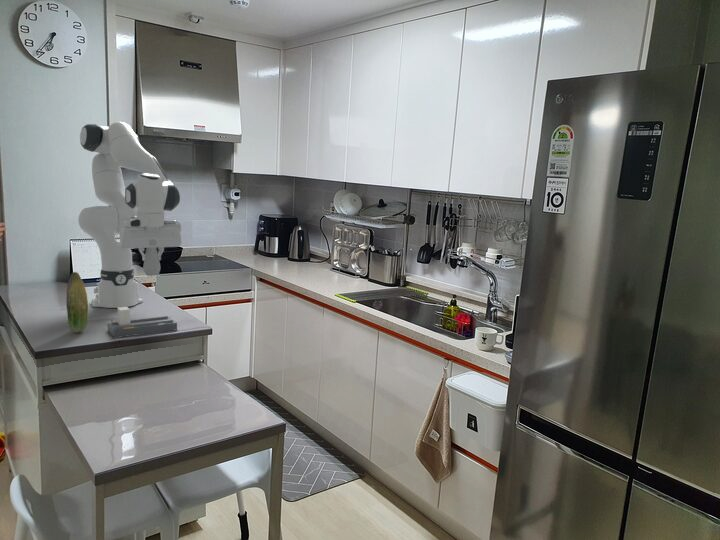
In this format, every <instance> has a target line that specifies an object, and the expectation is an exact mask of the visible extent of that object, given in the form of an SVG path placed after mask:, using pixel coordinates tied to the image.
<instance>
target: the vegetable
mask: <svg viewBox="0 0 720 540" xmlns="http://www.w3.org/2000/svg"><path fill="white" fill-rule="evenodd" d="M85 285H86V284H85V283H84V281H83V279H82V278H81V276H80V274H79V272H76V271H73V272H72V273H71V274H70V277H69V279H68V282H67V285H66V313H67V323H68V324H67V325H68V328H69V330H70V331H71V332H73V333H77V334H78V333H81V332H83V330H85V328H86V326H87V323H88V319H89V318H88V315H89V301H88V294H87V290H86V286H85Z"/></svg>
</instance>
